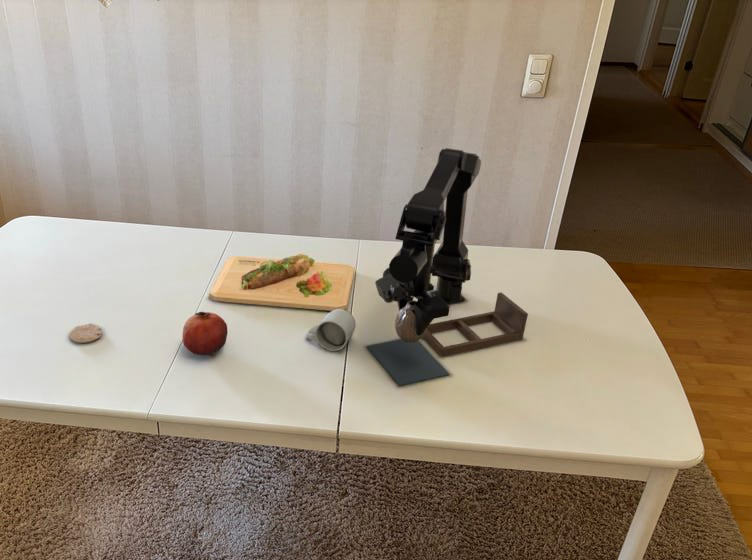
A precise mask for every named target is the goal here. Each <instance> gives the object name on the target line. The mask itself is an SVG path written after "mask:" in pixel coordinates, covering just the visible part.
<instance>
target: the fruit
mask: <svg viewBox="0 0 752 560" xmlns="http://www.w3.org/2000/svg"><path fill="white" fill-rule="evenodd" d="M228 332H229V331H228V325H227V322H226V321H225V320H224V319H223V318H222V316H220V315H219V314H217V313H215V312H211V311H210V312H209V311H198V312H195V314H193V315H191V316H190V317H189V318H188V319H187V320H186V321H185V323H184V325H183V328H182V335H181V336H182V338H181V339H182V344H183V346H184V348H185V349H187V351H189V352H190V353H191V354H193V355H196V356H210V355H213V354H216V353H217V352H219V351H220V350H221V349H222V348H224V347H225V345H226V343H227V339H228Z"/></svg>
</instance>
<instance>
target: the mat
mask: <svg viewBox="0 0 752 560" xmlns="http://www.w3.org/2000/svg"><path fill="white" fill-rule="evenodd" d="M366 348H367V349H368V351H369V352H370V353H371V354H372V355H373V356H374V358H375V359H376V360H377V361H378V363H379V364H380V365H381V366H382V368H383V369H384V370H385V371H386V372H387V374H388V375H389V376H390V377H391V378H392V380H393V381H394V382H395V384H397V386H398V387H403V386H406V385H412V384H416V383H420V382H421V383H422V382H424V381H429V380H434V379H438V378H443V377H447V376H450V373H449V372H448V371H447V369H446V368H445V367H444V366H443V365H442V364H441V363H440V362H439V361H438V360H437V359H436V358H435V357H434V356H433V354H431V353H430V351H428V349H427V348H426V347H425V346H424V345H423V344H422V343H421V342H420V340H419V341H417V342H414V343H408V342H404V341H403V340H401V339H400V338H399V339H394V340H389V341H384V342H379V343H375V344H369V345H367V346H366Z"/></svg>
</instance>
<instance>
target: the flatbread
mask: <svg viewBox="0 0 752 560" xmlns="http://www.w3.org/2000/svg"><path fill="white" fill-rule="evenodd" d="M102 334H103V330H102V327H100V326H99V325H97V324H94V323H85V324H81V325H77V326H75V327H74V328H73V329H71V330H70V332H69V335H68V336H69V339H70V340H71V341H72V342H74V343H90V342H93V341H96V340H98V339H100V338H101V336H102Z"/></svg>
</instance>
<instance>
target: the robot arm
mask: <svg viewBox="0 0 752 560" xmlns="http://www.w3.org/2000/svg"><path fill="white" fill-rule="evenodd" d="M481 165H482V160H481V158H480V157H479V155H477V153H472V152H466V151H464V150H462V149H455V148H448V147H445V148H442V149H441V150H440V151H439V154H438V158H437V162H436V165H435V167H434V169H433V171H432V173H431V174H430V176H429V178H428V180H427V182H426V184H425V186H424V187H423V189H422V190H421V191H419V192H416V193H414V194H413V195H412V197H411V198H410V199H409V201H408V202H407V203H406V204H405V205H404V207H403V209H402V212H401V216H400V221H399V223H398V228H397V231H396V235H395V240H398V241H402V245H401V247H400V249H399V250H398V251H397V253H395V255H394V256H393V258H391V260H390V262H389V264H388V267H387V268H385V270H384V271H383V272H382V277H380V278H378V279H377V280H375V282H374V284H375V287H376V290H377V294H378V296H379V297H380V298H381V299H383V301H384V302H385V303H386V304H390V303H393V302H394V303H397V307H398V312H399V311H400V310H401V309H402V308H403V307H405V306H406V305H407V303H408V302H409V301H412V300H414V298H415V299H416V301H417V302H416V303H415V304H414V310H411V312H412V313H413V314H414V315H415V316H416V333H417V335H422V334H423V332H424V331H425V330H426V328H427V327H428V326H429V324H432V322H433V321H434V320H435V319H440V318H445V317H448V316H449V315H450V309H451V306H450V305H451V304H456V303H461V302H465V301H466V298H465V297H464V296H463V295H462V290H463V284H464V283H466V282H467V281H470V280H471V276H472V265H471V261H470V259H469V249H468V247H467V246H466V244H465V242H464V239H463V238H464V231H465V221H466V220H465V218H466V211H467V202H468V201H467V199H468V192H469V190H470V188H471V187H472V185H473V184H474V182H475V180H476V178H477V177H478V175H479V174H480V172H481V171H480V170H481V167H482V166H481ZM405 229H407V230H405ZM409 230H414V231H409ZM442 235H443V236H442ZM441 237H442V242H441V243H440V245H439V246H438V248H437V250H436V252H435V247H436V246H435V245H436V244H437V242H438V241H441ZM432 277H436V278H437V281H436V288H435V287H434V284H433V283H431V278H432ZM434 288H435V289H436V290H434ZM428 292H430V295H429V293H428Z"/></svg>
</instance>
